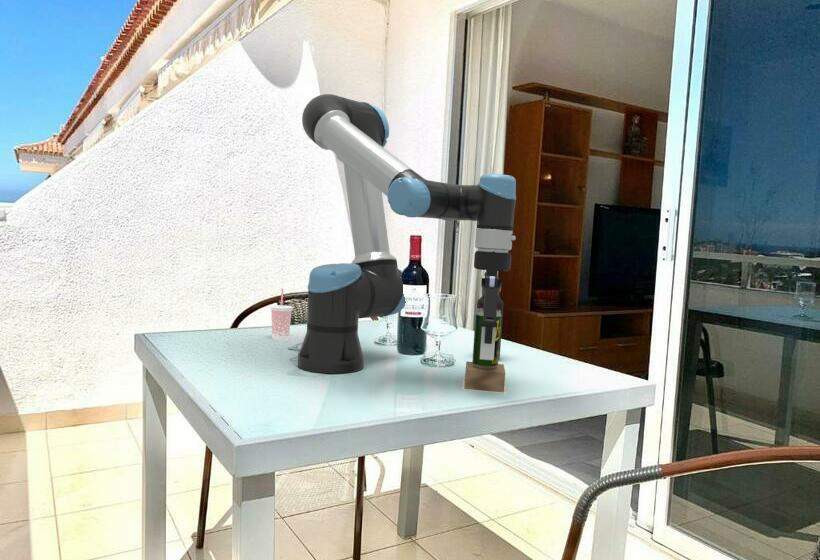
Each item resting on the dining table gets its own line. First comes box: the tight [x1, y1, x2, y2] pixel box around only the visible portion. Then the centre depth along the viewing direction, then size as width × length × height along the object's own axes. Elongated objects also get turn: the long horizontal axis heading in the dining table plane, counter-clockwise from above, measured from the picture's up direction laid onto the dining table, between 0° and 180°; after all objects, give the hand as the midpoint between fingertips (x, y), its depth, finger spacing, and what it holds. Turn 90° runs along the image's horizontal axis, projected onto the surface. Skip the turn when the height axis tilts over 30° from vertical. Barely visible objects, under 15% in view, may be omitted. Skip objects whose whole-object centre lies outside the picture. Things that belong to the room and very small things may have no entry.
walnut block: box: [464, 361, 506, 393], centre depth 126 cm, size 8×8×4 cm
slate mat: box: [461, 378, 507, 394], centre depth 127 cm, size 16×10×1 cm, turn 84°
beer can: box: [471, 308, 501, 370], centre depth 126 cm, size 5×5×12 cm
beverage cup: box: [270, 288, 294, 341], centre depth 168 cm, size 6×6×14 cm
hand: (486, 352), depth 126 cm, fingers open, 13 cm apart
